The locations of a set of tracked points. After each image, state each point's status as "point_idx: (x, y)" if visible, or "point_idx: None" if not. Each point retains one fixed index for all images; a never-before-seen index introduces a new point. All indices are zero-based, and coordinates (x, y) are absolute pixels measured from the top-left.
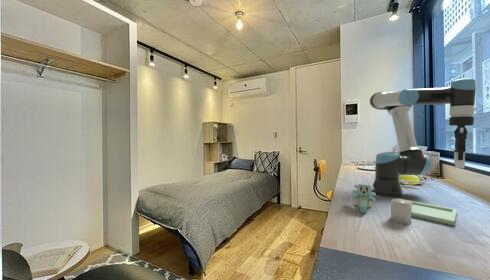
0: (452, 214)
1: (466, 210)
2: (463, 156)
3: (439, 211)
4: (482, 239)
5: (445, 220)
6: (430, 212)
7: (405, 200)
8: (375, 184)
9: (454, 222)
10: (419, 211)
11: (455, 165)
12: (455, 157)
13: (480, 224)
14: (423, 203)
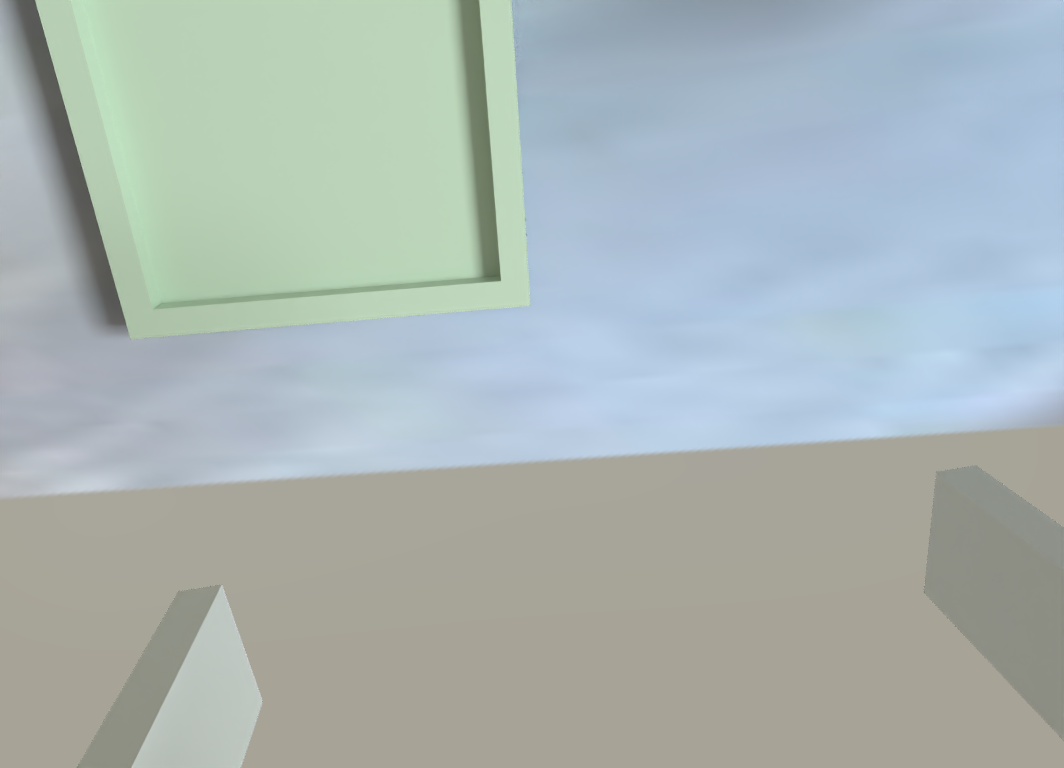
0: (324, 300)
1: (702, 341)
2: None
3: (406, 186)
4: (42, 482)
5: (118, 275)
6: (294, 125)
7: None
8: None
9: (136, 334)
10: (227, 28)
11: (159, 629)
12: (1045, 580)
13: (378, 447)
14: (499, 15)
